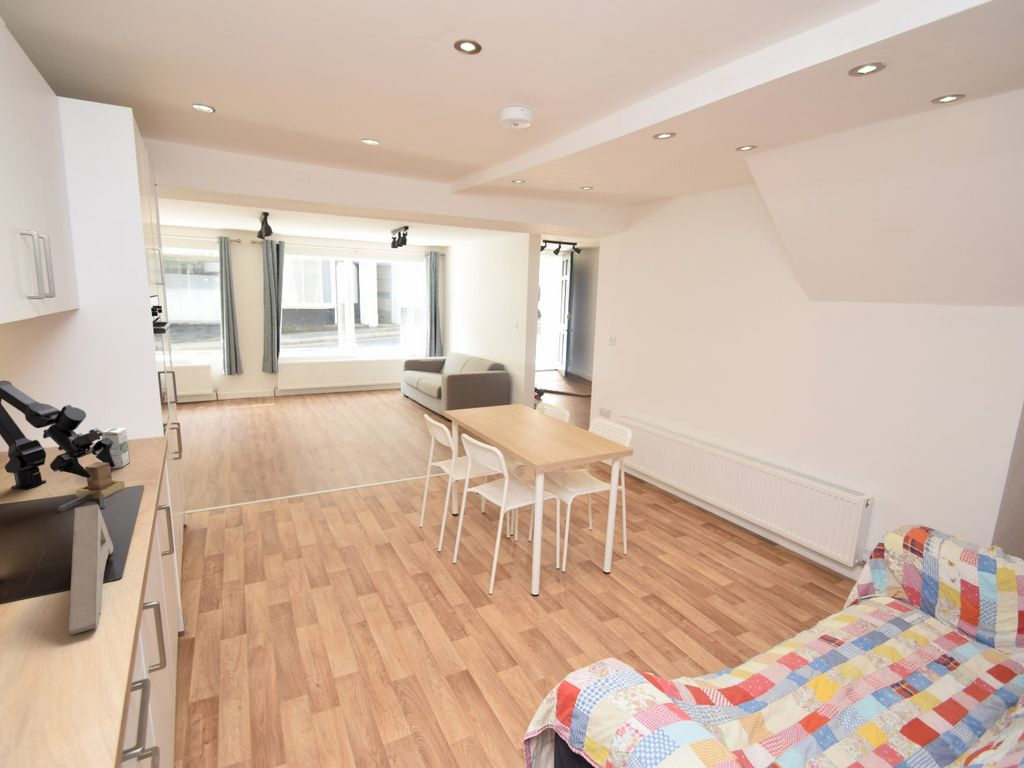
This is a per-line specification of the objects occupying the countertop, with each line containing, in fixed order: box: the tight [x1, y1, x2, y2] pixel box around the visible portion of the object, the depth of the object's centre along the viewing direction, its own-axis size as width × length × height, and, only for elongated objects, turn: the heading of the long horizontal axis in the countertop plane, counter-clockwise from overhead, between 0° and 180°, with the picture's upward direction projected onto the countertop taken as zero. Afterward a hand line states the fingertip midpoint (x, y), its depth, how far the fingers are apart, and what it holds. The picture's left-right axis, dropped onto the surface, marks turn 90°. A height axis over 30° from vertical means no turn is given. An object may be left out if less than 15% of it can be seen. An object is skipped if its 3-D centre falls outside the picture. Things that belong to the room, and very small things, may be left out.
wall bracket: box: [68, 503, 114, 636], centre depth 120 cm, size 22×4×30 cm
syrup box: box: [101, 427, 131, 469], centre depth 191 cm, size 6×6×14 cm
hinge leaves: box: [57, 479, 126, 513], centre depth 164 cm, size 15×19×2 cm
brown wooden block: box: [84, 461, 113, 490], centre depth 169 cm, size 4×4×10 cm
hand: (102, 471), depth 168 cm, fingers open, 9 cm apart
